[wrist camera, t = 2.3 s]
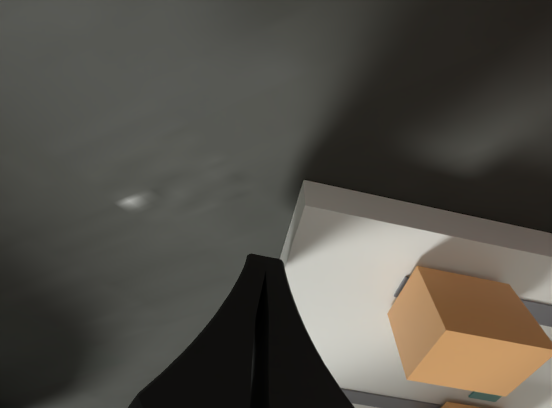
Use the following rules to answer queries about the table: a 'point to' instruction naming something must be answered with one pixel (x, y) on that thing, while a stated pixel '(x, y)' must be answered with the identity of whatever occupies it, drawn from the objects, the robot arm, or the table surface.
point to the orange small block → (466, 333)
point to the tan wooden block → (457, 405)
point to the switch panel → (390, 281)
